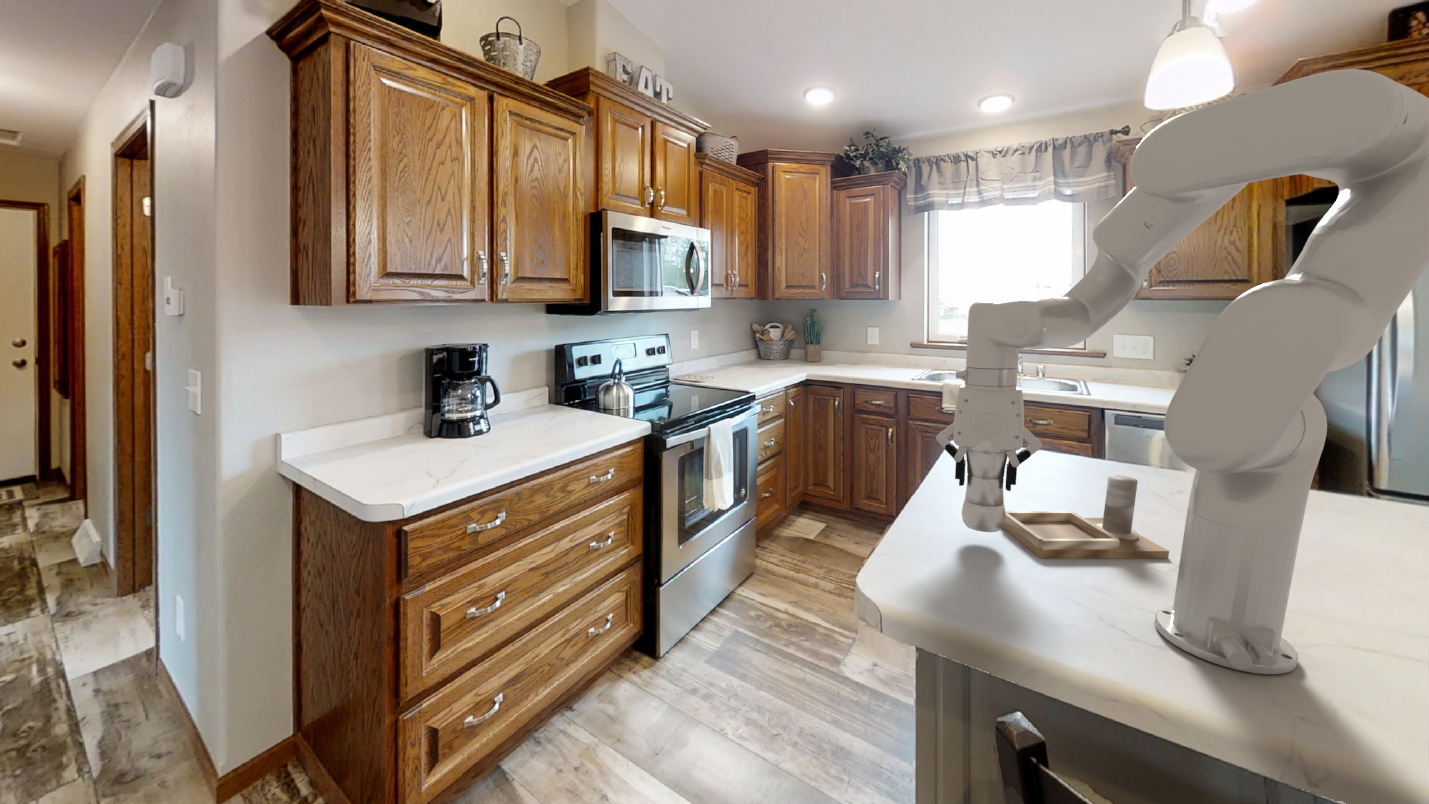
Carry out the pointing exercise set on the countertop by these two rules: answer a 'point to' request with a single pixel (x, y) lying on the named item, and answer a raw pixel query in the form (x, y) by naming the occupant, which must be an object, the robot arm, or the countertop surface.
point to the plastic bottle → (984, 488)
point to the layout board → (1086, 529)
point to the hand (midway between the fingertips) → (984, 485)
